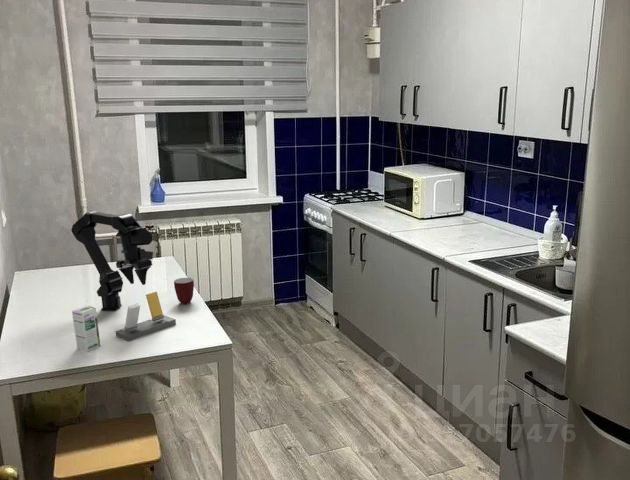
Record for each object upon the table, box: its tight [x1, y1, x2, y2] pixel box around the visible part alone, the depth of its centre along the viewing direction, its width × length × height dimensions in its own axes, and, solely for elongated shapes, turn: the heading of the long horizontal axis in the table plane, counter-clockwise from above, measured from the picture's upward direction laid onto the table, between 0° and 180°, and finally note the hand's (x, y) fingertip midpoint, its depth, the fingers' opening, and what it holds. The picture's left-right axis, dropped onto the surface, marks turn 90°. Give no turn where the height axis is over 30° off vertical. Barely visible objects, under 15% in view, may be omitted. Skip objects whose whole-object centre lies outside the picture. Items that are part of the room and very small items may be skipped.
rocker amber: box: [145, 291, 165, 322], centre depth 231 cm, size 2×4×11 cm, turn 140°
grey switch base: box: [115, 314, 177, 342], centre depth 228 cm, size 21×8×2 cm, turn 140°
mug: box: [173, 277, 195, 305], centre depth 255 cm, size 10×8×10 cm
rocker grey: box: [124, 303, 141, 331], centre depth 221 cm, size 2×4×11 cm, turn 140°
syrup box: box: [71, 305, 102, 352], centre depth 212 cm, size 6×6×14 cm
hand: (138, 284), depth 242 cm, fingers open, 9 cm apart
